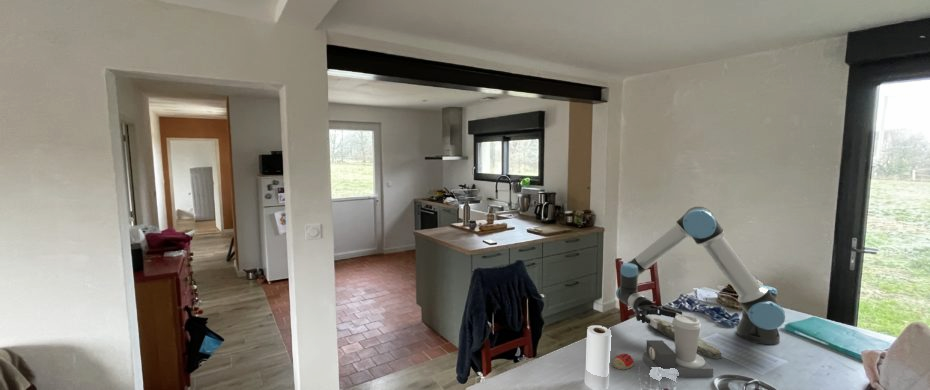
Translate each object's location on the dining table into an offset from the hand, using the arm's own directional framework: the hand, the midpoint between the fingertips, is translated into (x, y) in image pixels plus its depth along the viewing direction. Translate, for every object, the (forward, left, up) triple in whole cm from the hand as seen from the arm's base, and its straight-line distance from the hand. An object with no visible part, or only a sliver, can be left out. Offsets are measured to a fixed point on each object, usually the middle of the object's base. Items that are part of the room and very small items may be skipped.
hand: (672, 324), depth 151 cm
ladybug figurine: (+21, +6, -14) cm, 26 cm away
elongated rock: (-12, -15, -14) cm, 24 cm away
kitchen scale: (+2, +8, -14) cm, 16 cm away
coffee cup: (-1, +8, -10) cm, 13 cm away
